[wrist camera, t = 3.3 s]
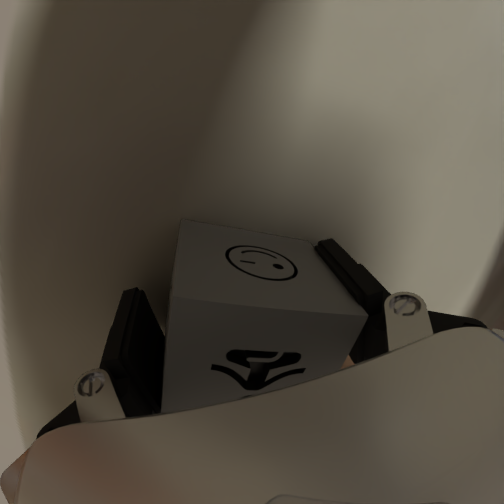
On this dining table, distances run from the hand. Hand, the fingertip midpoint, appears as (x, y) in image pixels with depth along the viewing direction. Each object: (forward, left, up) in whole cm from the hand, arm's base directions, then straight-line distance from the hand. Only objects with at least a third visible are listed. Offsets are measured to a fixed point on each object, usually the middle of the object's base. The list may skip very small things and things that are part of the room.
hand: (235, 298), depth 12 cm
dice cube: (0, 0, -1) cm, 1 cm away
